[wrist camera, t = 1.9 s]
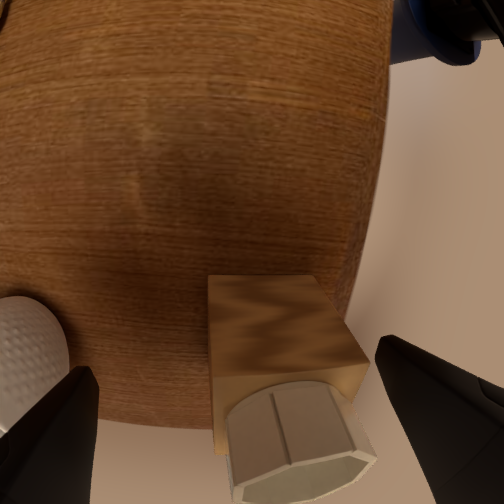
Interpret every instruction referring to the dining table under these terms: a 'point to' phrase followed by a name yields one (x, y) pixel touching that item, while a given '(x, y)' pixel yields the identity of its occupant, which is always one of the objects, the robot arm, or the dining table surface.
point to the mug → (28, 356)
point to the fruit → (1, 6)
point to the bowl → (294, 444)
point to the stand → (274, 341)
